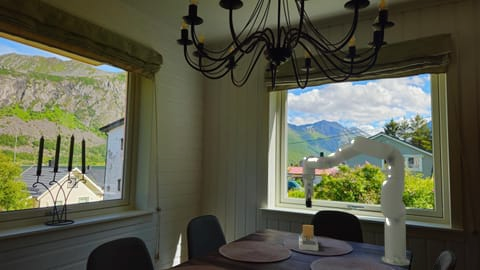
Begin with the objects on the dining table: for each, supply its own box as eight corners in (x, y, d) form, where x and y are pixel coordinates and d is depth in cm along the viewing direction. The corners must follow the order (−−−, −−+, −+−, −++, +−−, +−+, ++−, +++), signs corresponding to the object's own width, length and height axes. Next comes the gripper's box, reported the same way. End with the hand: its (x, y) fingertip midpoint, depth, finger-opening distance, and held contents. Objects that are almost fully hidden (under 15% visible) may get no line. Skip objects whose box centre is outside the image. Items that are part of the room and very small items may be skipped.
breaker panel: (318, 250, 173) (318, 241, 173) (299, 249, 175) (299, 240, 175) (315, 241, 193) (315, 233, 193) (298, 240, 194) (299, 232, 195)
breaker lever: (313, 240, 182) (313, 226, 183) (302, 239, 183) (303, 225, 184) (313, 239, 185) (313, 225, 185) (302, 238, 186) (302, 224, 186)
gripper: (316, 178, 178) (315, 209, 177) (314, 177, 195) (314, 204, 194) (302, 178, 179) (302, 208, 178) (302, 176, 196) (301, 204, 195)
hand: (308, 206), depth 186 cm, fingers open, 9 cm apart
